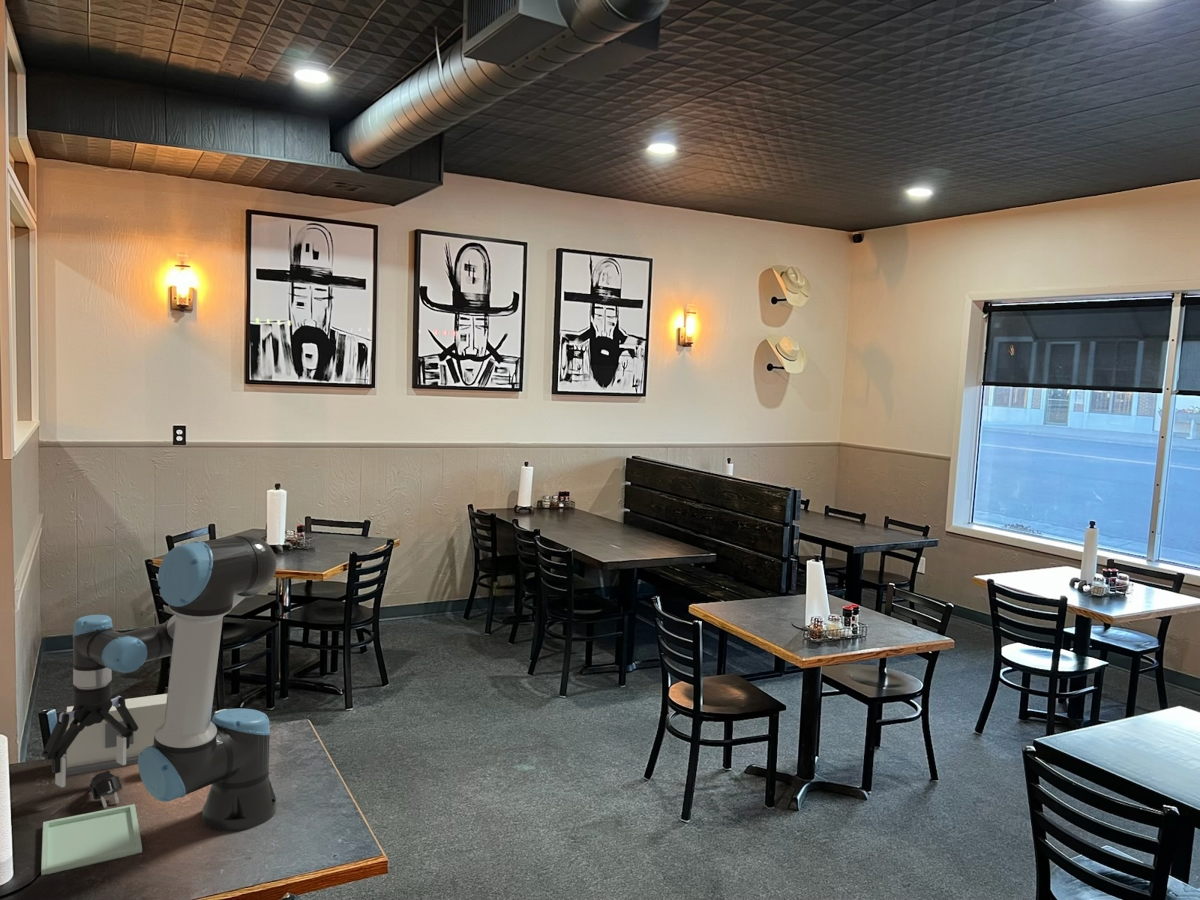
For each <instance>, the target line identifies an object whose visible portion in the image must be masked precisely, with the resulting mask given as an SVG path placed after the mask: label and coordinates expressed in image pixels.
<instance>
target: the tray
mask: <svg viewBox="0 0 1200 900" xmlns="http://www.w3.org/2000/svg"><path fill="white" fill-rule="evenodd" d="M41 843H42V844H41V865H40V866H41V870H40V872H41V875H40V876H42V877H43V876H46V875H51V874H53V873H59V872H63V871H67V870H72V869H73V870H74V869H77V868H81V867H85V866H89V865H94V864H99V863H104V862H107V861H108V862H109V861H112V860H116V859H121V858H125V857H130V856H134V855H138V854H142V853H143V844H142V838H141V833H140V826H139V820H138V813H137V808H136V803H135V804H134V803H133V804H129V805H128V804H127V805H122V806H119V807H113V808H108V809H101V810H98V811H93V812H87V813H82V814H77V815H76V814H75V815H72V816H67V817H63V818H62V817H61V818H56V819H51V820H47V821H43V823H42V842H41Z"/></svg>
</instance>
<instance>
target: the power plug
mask: <svg viewBox="0 0 1200 900" xmlns="http://www.w3.org/2000/svg"><path fill="white" fill-rule="evenodd" d="M121 782H122V781H121V778H120V776H118V775H115V774H114V775H113V773H111V770H106V771H103V772H99V773H97V774H96V775H94V776H93V777H92V779H91V781H90V783H89V788H88V789H87V791H88V792H91V793H92V797H93V801H94V800H95V801H96V800H101V804H102V807H103V809H105V808H107V807H108V804H107V801H106V798H107V797H109V796H111V795H112V796H113V799H114V802H115V804H119V803H120V800H119V795H118V792H119V791H121V790H122V789H123V787H122V783H121Z"/></svg>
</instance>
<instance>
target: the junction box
mask: <svg viewBox="0 0 1200 900" xmlns="http://www.w3.org/2000/svg"><path fill="white" fill-rule="evenodd" d="M166 702H167V693H162V694H155V695H147V696H139V697H132V698H125V705H126V707H127V709H128V711H129V712H130V714H131V716H132V717H133V719H134V721H135V723H136V724H137V726H138V730H137V731H134V732H132V733H133V735H132V736H131V737H130V743H129V744H130V745H129V748H128V749H126V764H125V765H121V764H119V763H117V762H116V752H117V735H121V733H119V732H118V731H117V730H116V729H115V728H113V727H112V726H111V725H110V724H109V723H107V722H106V721H105V720H103V721H101V723H97V724H93V725H91V726H88V727H87V726H85V727H84V729H83V730H82V731H80V732H79V734H78V735H77V736H76V738H75V739H74V741H73V742H72V743H71V745H70V746H69V748H68V749H67V751H66V753H64V755H63V757H65V758H66V777H69V776H75V775H79V774H87V773H91V772H99V771H104V770H109V769H115V768H122V767H127V766H133V765H138V758H139V755H140V753H141V751H143V749H145V748H146V747H147V746H152V745H153V743H154V734H155V730H156V729H157V727H158V726H160V725H161V724H162V723H164V720H165V711H166ZM73 707H74V705H71V706H66V712H70V711H72V710H73ZM108 713H109V714H111V715H112V716H113V717H114V718H115V719H116V720H117V721H118V722H119V723H121V724H122V725H123V726H124V727H125V728H126V727H127V726H126V724H125V722H124V721H123V719H122V717H121V716H120V714H119V712H118V711H117V709H116V707H114V706H113V705H112V707H111V709H110V710H109V712H108ZM73 720H74V717H72V718H71V721H70V722H69V723H68V726H67V729H66V731H67V730H68V729H69V727H70V724H71V722H72V721H73ZM79 724H80V723H78V724H77V725H79Z"/></svg>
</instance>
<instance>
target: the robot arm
mask: <svg viewBox="0 0 1200 900" xmlns="http://www.w3.org/2000/svg"><path fill="white" fill-rule="evenodd" d="M277 564H278V563H277V557H276V555H275V552H274V550H273V549H272V547H271V546H270V545H269V544H268V543H267V542H266V541H264V540H263V539H261V538H258V537H256V536H254V535H253V536H252V535H243V534H242V535H235V536H229V537H222V538H217V539H207V540H201V541H200V540H197V541H191V542H189V543H184V544H180V545H177V546H174V547H173V548H172V549H171V550H169V551H168V552H167V553H166V554H165V556H164V557H163V558H162V561H161V563H160V565H159V569H158V574H157V585H158V587H160V589H159V594H160V596H161V598H162V600H163V601H164V602H165V603H166V604H168V609H169V610H170V612H172V613H173V614H174V615H172V616H171V617H170V618H168V620H166V621H165V622H164V623H160V624H157V625H151V626H148V627H144V628H139V629H134V630H130V631H126V632H119V631H116V630H113V627H114V625H113V620H112V617H111V616H109V615H107V614H90V615H85V616H84V615H83V616H81V617H79V618H77V619H76V620H75V621H74V623H73V634H72V649H73V651H72V659H73V661H72V665H73V669H72V670H73V671H72V672H73V673H72V674H73V675H72V680H73V681H72V685H74V686H73V688H72V703H73V706H74V707H73V710H72V711H70V712H67V711H66V712H64V711H61V710H60V711H59V712H58V713H57V718H56V722H55V723H56V724H55V725H54V728H52V732H51V734H50V736H49V737H48V740H47V742H46V744H45V746H44V748H43V751H42V752H41V757H42V758H45V759H46V760H49V761H50V760H51V772H52V773H54V774H55V776H54V778H55V781H54V782H55V783H54V784H55V785H56V786H58V787H60V788H65V787H66V777H67V776H66V758H65V757H63V755H64V754H66V753H67V749H68V748H69V746H70V745H71V743H72V742H73V741H74V739H75V738H76V736H77V735H78V734H79V732H80V731H82V730H83V729H84V727H85V726H87V727H88V726H91V725H93V724H97V723H101V721H103V720H105V721H106V722H107V723H109V724H110V725H111V726H112V727H113V728H115V729H116V730H117V731H118V732H119V733H121V735H117V752H116V762H117V763H119V764H121V765H125V764H126V749H128V748H129V745H130V744H129V743H130V737H131V736H132V735H133V733H132V732H134V731H137V730H138V726H137V724H136V723H135V721H134V719H133V717H132V716H131V714H130V712H129V711H128V709H127V707H126V705H125V699H126V698H125V697H123V696H120V695H115V696H114V697H113V698H112V682H111V681H112V679H113V677H112V675H113V674H112V671H113V672H119V673H122V674H127V673H129V674H130V673H134V672H136V671H137V670H138V669H140V668H141V667H142V666H143V665H144V664H145V663H147V662H151V661H154V660H158V659H163V658H166V657H170V656H171V658H170V665H169V667H170V668H169V676H168V677H169V678H168V683H167V684H168V686H167V693H166V694H167V702H166V711H165V720H164V723H162V724H161V725H160V726H158V727H157V729H156V730H155V734H154V743H153V745H152V746H147V747H146V748H145V749H143V751H141V753H140V755H139V758H138V764H137V765H138V766H137V767H138V773H139V777H140V780H141V782H142V784H143V786H144V788H145V789H146V791H147V792H148V793H149V795H150V796H151V797H153V798H154V799H155V800H156V801H159V802H164V803H166V802H170V801H174V800H176V799H179V798H180V799H181V798H185V796H187V795H189V794H191V793H195V792H196V791H200V790H201V789H203V788H206V787H208V786H210V788H209V791H208V795H207V797H206V800H205V802H204V806H203V807H202V813H201V815H202V816H201V817H202V818H201V819H202V823H203V825H204V826H205V827H207V828H208V829H210V830H213V831H218V832H238V831H245V830H249V829H252V828H256V827H258V826H261V825H263V824H265V823H267V822H268V821H270V820H271V819H272V818H273V817H274V815H275V814H276V813H277V798H276V795H275V794H276V793H275V791H274V789H273V786H272V782H271V780H270V777H269V775H270V771H269V769H270V767H269V766H270V737H271V730H270V719H269V717H268V715H267V714H266V713H264V712H262V711H260V710H256V709H251V708H241V707H240V708H230V709H227V708H226V709H227V710H223V709H221V710H222V711H219V710H218V711H219V712H217V713H216V714H215V713H214V715H213V716H212V710H213V703H214V695H215V685H216V678H217V677H216V676H217V669H218V659H219V652H220V644H221V636H222V628H223V619H224V616H226V615H227V614H228V613H230V612H231V611H232V609H233V608H235V607H236V606H237V605H238V604H239V603H240V602H242V601H243V600H244V599H245V598H252V597H255V596H256V595H257V594H259V593H260V592H261V591H262V590H263V589H265V588H266V587H267V586H268V585H269V584H270V583H271V581H272V580H273V579H274V577H275V574H276V571H277ZM112 705H113V706H114V707H116V709H117V711H118V712H119V714H120V716H121V717H122V719H123V721H124V722H125V724H126V726H127V727H126V728H125V727H124V726H123V725H122V724H121V723H119V722H118V721H117V720H116V719H115V718H114V717H113V716H112V715H111V714H109V713H108V712H109V710H110V709H111V707H112ZM72 717H74V720H73V721H72V722H71V724H70V727H69V729H68V730H67V726H68V723H69V722H70V721H71V718H72ZM211 718H212V719H211ZM78 723H80V724H79V725H77V724H78Z"/></svg>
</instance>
